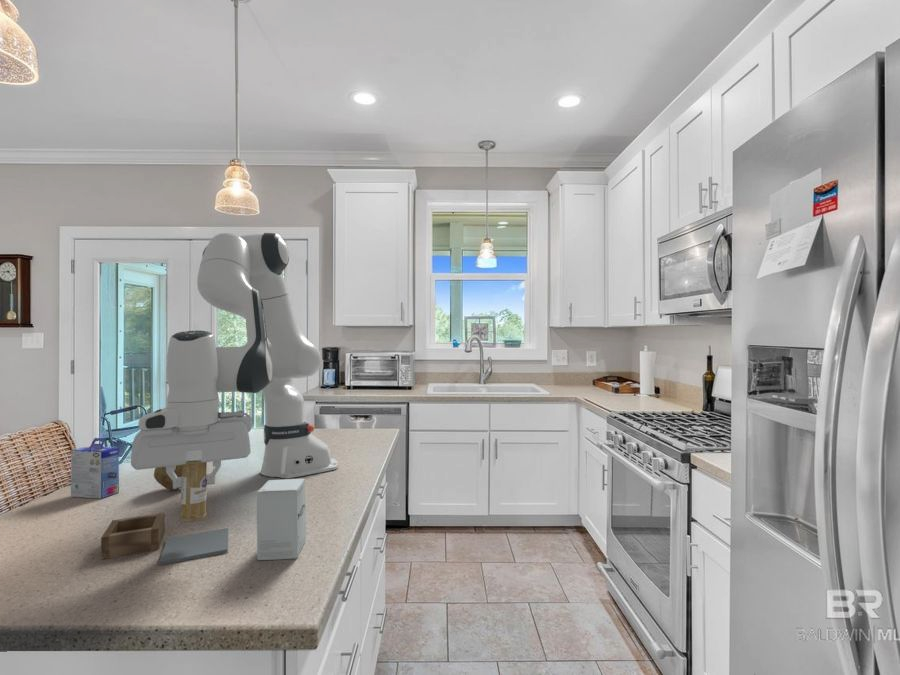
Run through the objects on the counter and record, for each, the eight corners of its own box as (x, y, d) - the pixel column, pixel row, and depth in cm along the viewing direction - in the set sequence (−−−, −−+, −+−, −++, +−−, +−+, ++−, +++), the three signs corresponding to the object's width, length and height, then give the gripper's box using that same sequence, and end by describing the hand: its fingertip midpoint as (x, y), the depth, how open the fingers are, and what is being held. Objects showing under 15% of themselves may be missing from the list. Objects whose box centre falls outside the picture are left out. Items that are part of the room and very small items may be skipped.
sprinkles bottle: (202, 521, 89) (204, 450, 89) (176, 523, 88) (177, 451, 88) (209, 513, 94) (210, 445, 94) (184, 514, 93) (185, 446, 93)
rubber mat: (227, 530, 98) (227, 527, 98) (227, 552, 88) (227, 549, 88) (167, 541, 94) (167, 538, 94) (159, 565, 84) (159, 561, 84)
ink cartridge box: (121, 492, 124) (120, 437, 124) (101, 499, 119) (100, 442, 118) (90, 490, 126) (89, 436, 126) (69, 497, 121) (68, 441, 120)
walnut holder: (164, 531, 98) (164, 512, 98) (158, 549, 90) (158, 528, 90) (112, 540, 94) (112, 520, 94) (101, 559, 86) (101, 537, 86)
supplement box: (298, 559, 85) (296, 489, 85) (256, 561, 85) (254, 491, 85) (307, 541, 93) (306, 477, 93) (268, 543, 92) (267, 479, 92)
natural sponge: (146, 492, 123) (145, 454, 123) (179, 482, 131) (178, 447, 131) (166, 497, 119) (166, 458, 119) (199, 487, 127) (199, 450, 127)
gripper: (251, 408, 98) (252, 474, 98) (134, 416, 90) (136, 488, 90) (252, 412, 92) (253, 482, 92) (128, 421, 84) (129, 499, 84)
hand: (194, 485), depth 91 cm, fingers closed on sprinkles bottle, 4 cm apart
